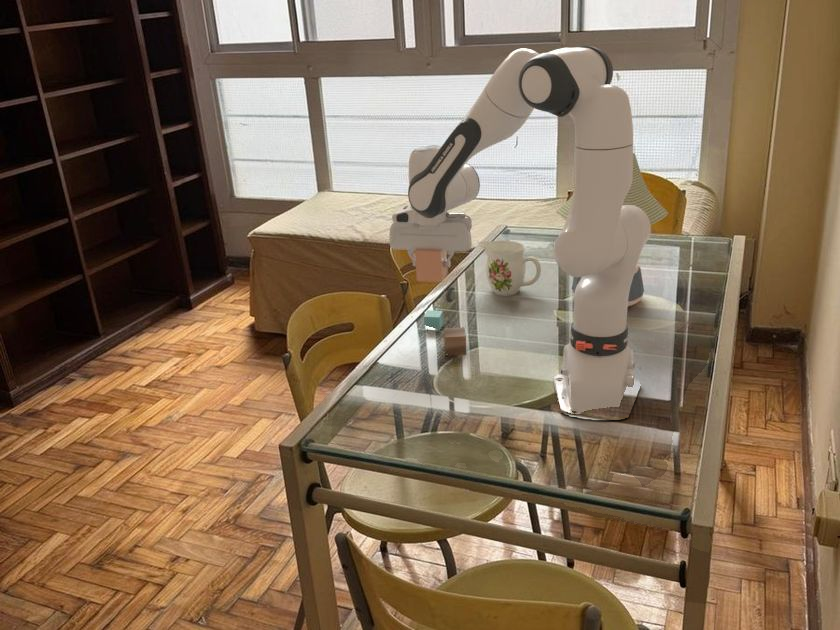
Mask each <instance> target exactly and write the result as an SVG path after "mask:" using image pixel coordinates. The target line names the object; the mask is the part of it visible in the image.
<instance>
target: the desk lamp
mask: <svg viewBox="0 0 840 630" xmlns="http://www.w3.org/2000/svg"><path fill="white" fill-rule="evenodd" d="M572 196H573V194H572V195H571V196H570V197H569V198H568V199H567V200H566V201H565V202H564V204H563V205H562V206H561V207H559V209H557V211H556V212H555V213H556V214H557V215H558V216H560V217H561V218H562V219H564V220H565V221H566V219H567V216H568V212H569V208H570V204H571V200H572ZM623 205H634V206H637V207H639V208H640V209H642V210H643V211H644V212H645V213H646V215H647V216H648V218H649V221H650V225H651V226H652V225H654V224H656V223H658V222H659V221H661V220H663V219H664V218H665V217H667V216H668V214H669V212H668V211H667V210H666V209H665V208H664V207H663V205H661V204H660V203H659V201H658V200H657V199H656V197H655V196H654V195H653V194H652V193H651V191H650V190H649V188H648V186H647V184H646V182H645V180H644V178H643V175H642V172H641V169H640V166H639V162H638V160H637V156H636V153H634V152H633V180H632V184H631V187H630V189H629V191H628V193H627V194H626V197H625V199H624V202H623ZM581 278H582V277H573V281H572V286H571V290H572V292H571V293H572V296H573V297H574V292H575V289H576V286H577V285H578V283H579V281H580V280H581ZM644 292H645V289H644V282H643V275H642V269H641V266H640V265H639V264H638V263H637V266H636V270H635V273H634V276H633V280H632V283H631V287H630V291H629V297H628V307H631V306H633V305H635V304H637V303H638V302H640V301H642V300H643V297H644Z"/></svg>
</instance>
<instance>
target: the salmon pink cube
mask: <svg viewBox="0 0 840 630" xmlns="http://www.w3.org/2000/svg"><path fill="white" fill-rule="evenodd" d="M414 254H415V258H416V266H415V271H416V276H415V277H416V282H423V283H424V282H426V283H443V281H444V279H445V277H447V274H448V267H443V265H444V264H443V261H444V259H448V258H447V257H448V256H447V255H448V254H447V251H442V250H436V249H416V250H415V251H414Z"/></svg>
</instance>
